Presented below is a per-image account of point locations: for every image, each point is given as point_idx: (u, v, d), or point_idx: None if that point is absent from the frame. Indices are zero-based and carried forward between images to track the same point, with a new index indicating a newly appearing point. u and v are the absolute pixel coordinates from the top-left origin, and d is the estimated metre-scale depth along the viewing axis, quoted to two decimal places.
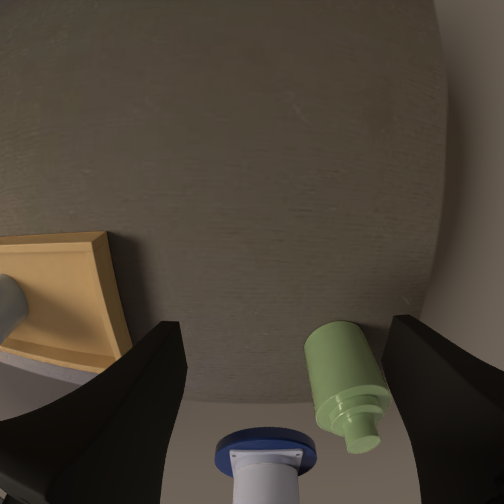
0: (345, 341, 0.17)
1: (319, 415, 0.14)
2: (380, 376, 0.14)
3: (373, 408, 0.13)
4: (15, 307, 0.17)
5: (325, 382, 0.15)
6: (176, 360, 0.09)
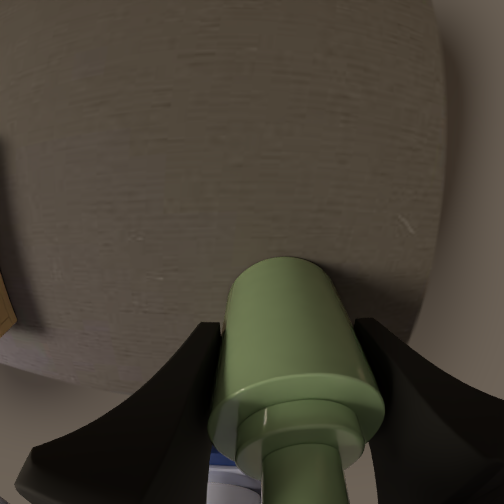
0: (286, 285, 0.09)
1: (214, 436, 0.06)
2: (358, 356, 0.07)
3: (336, 434, 0.05)
4: None
5: (227, 363, 0.07)
6: None
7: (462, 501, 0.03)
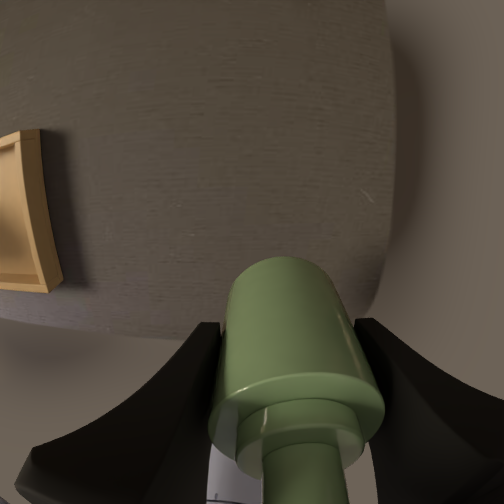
0: (286, 284, 0.09)
1: (215, 435, 0.06)
2: (358, 356, 0.07)
3: (336, 433, 0.05)
4: None
5: (227, 362, 0.07)
6: None
7: (462, 501, 0.03)
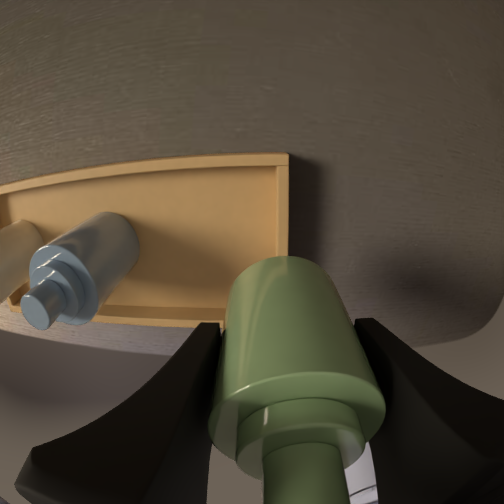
0: (287, 283, 0.09)
1: (215, 435, 0.06)
2: (359, 355, 0.07)
3: (337, 433, 0.05)
4: (129, 250, 0.16)
5: (228, 362, 0.07)
6: None
7: (462, 501, 0.03)
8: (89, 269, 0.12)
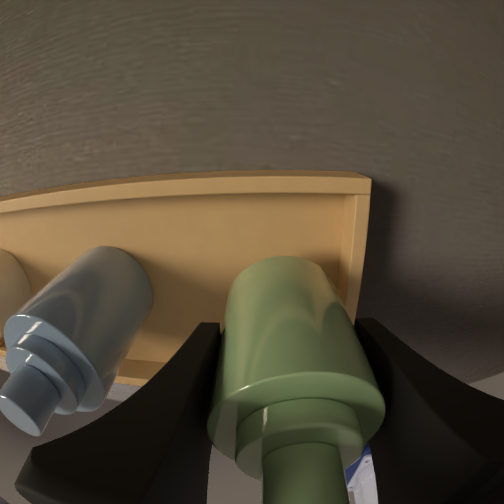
0: (286, 283, 0.09)
1: (214, 435, 0.06)
2: (358, 355, 0.07)
3: (336, 433, 0.05)
4: (141, 303, 0.12)
5: (227, 362, 0.07)
6: None
7: (462, 501, 0.03)
8: (87, 352, 0.08)
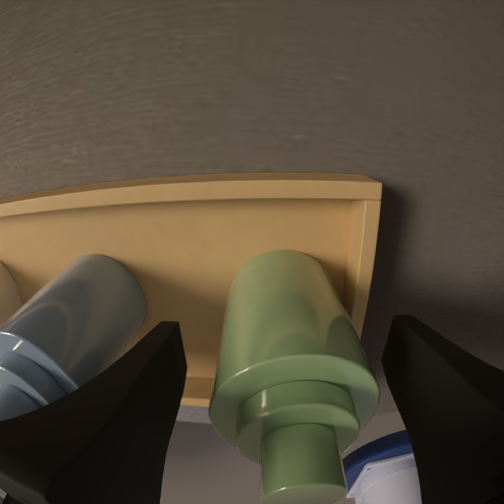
0: (285, 275, 0.09)
1: (216, 418, 0.07)
2: (353, 341, 0.07)
3: (332, 414, 0.06)
4: (133, 316, 0.11)
5: (228, 348, 0.07)
6: (176, 360, 0.09)
7: None
8: (73, 374, 0.07)
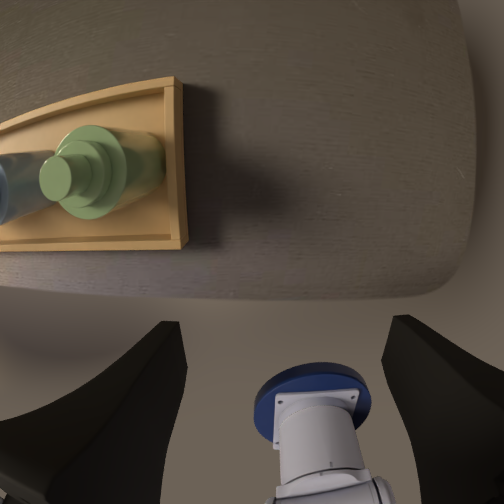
0: None
1: None
2: (119, 132, 0.12)
3: (86, 147, 0.11)
4: None
5: None
6: (176, 360, 0.09)
7: None
8: (6, 171, 0.12)
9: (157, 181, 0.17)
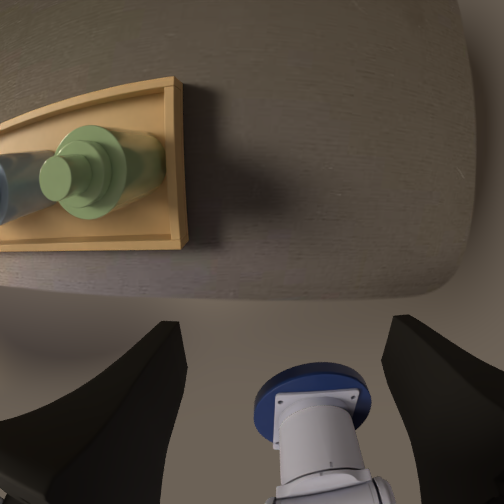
0: None
1: None
2: (118, 132, 0.12)
3: (86, 147, 0.11)
4: None
5: None
6: (176, 360, 0.09)
7: None
8: (6, 171, 0.12)
9: (157, 181, 0.17)
